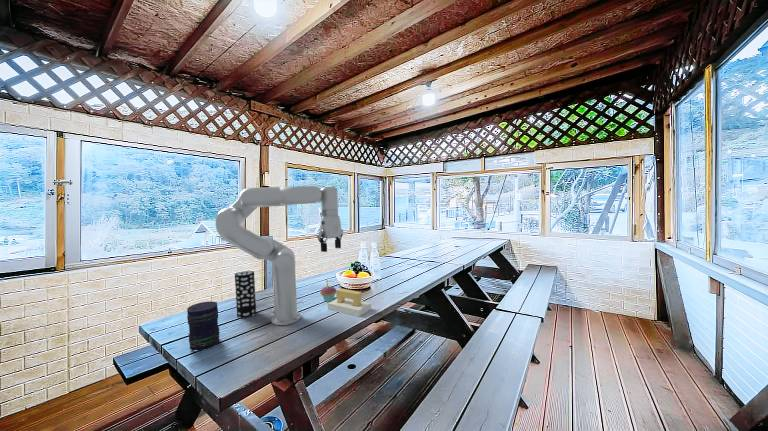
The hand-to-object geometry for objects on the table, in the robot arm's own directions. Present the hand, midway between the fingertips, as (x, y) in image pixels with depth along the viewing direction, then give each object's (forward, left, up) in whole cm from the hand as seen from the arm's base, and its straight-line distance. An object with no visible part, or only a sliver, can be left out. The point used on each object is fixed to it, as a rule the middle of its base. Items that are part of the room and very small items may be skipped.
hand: (331, 249), depth 133 cm
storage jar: (-24, -46, -31) cm, 60 cm away
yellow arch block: (+4, +7, -30) cm, 31 cm away
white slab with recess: (+4, +7, -30) cm, 31 cm away
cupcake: (-14, +12, -31) cm, 36 cm away
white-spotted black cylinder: (-36, -21, -31) cm, 52 cm away
